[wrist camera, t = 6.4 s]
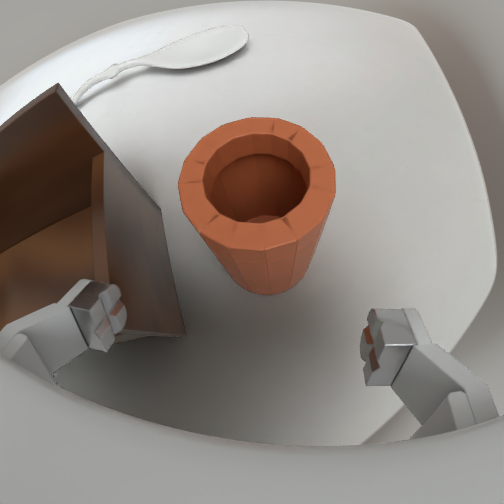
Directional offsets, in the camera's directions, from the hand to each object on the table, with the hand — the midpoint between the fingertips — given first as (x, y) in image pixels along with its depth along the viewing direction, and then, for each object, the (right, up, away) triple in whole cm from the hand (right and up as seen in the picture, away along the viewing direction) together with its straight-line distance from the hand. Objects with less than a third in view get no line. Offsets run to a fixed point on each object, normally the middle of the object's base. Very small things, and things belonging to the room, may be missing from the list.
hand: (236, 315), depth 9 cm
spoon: (-15, +23, +20) cm, 34 cm away
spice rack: (-15, -2, +12) cm, 19 cm away
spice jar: (+2, +2, +11) cm, 12 cm away
